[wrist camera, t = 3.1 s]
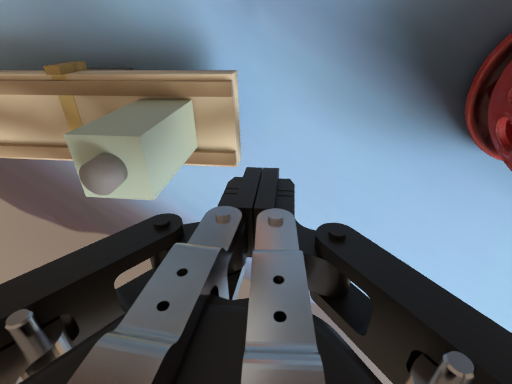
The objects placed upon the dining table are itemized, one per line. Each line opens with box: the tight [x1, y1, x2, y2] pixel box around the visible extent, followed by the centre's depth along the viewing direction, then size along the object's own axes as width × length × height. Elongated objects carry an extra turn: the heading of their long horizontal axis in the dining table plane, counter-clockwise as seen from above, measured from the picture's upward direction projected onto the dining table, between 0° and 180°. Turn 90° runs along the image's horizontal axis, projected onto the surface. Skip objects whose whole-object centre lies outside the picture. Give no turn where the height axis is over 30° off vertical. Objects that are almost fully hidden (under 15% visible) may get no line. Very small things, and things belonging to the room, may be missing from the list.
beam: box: [0, 61, 241, 167], centre depth 24 cm, size 8×26×8 cm, turn 91°
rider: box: [64, 99, 198, 200], centre depth 18 cm, size 4×4×9 cm
